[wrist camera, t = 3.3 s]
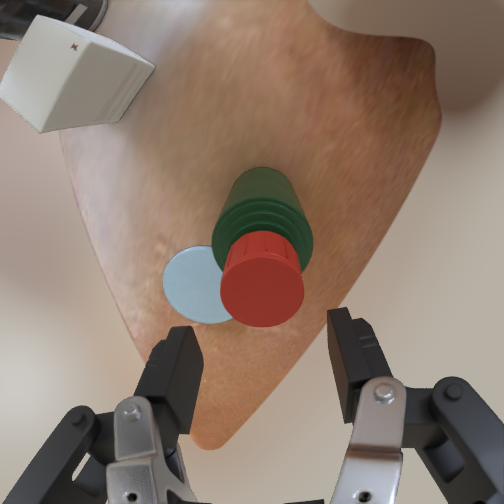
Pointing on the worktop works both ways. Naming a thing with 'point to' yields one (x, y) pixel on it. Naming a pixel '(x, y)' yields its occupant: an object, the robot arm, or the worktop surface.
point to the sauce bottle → (262, 214)
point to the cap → (262, 280)
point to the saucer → (195, 285)
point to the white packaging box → (71, 77)
